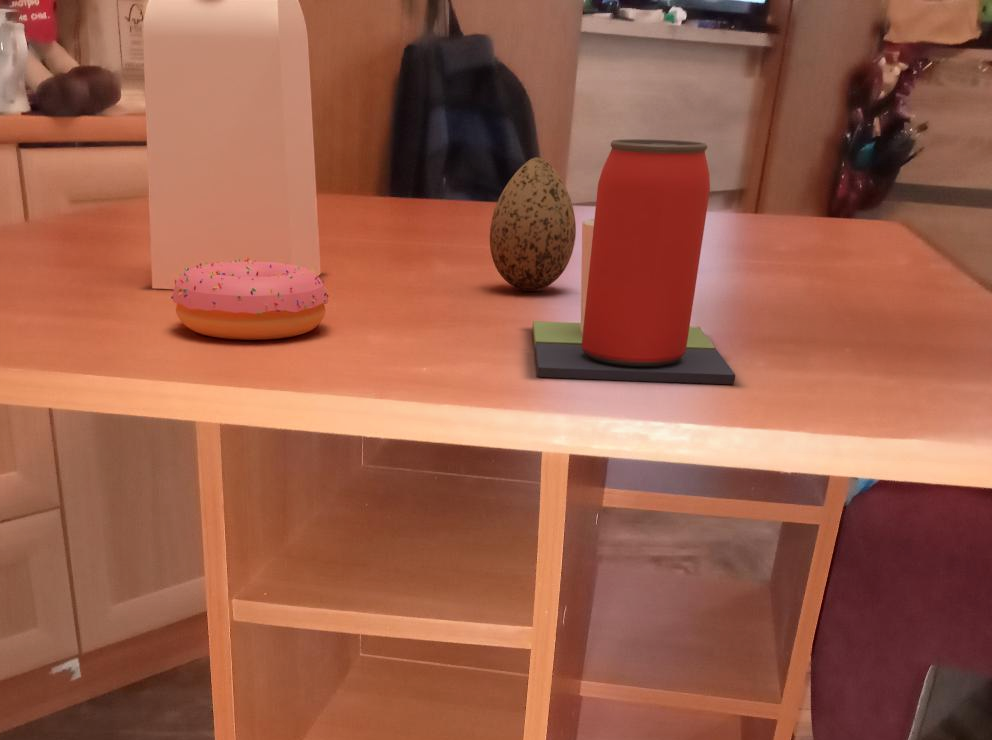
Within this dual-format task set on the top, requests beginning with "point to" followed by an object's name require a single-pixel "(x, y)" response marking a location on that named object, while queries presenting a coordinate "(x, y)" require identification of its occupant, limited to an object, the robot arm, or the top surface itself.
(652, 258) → the beer can
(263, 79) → the milk
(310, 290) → the doughnut
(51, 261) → the top surface
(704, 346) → the sage mat
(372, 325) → the top surface
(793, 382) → the top surface
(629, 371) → the slate mat
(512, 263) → the decorative egg
